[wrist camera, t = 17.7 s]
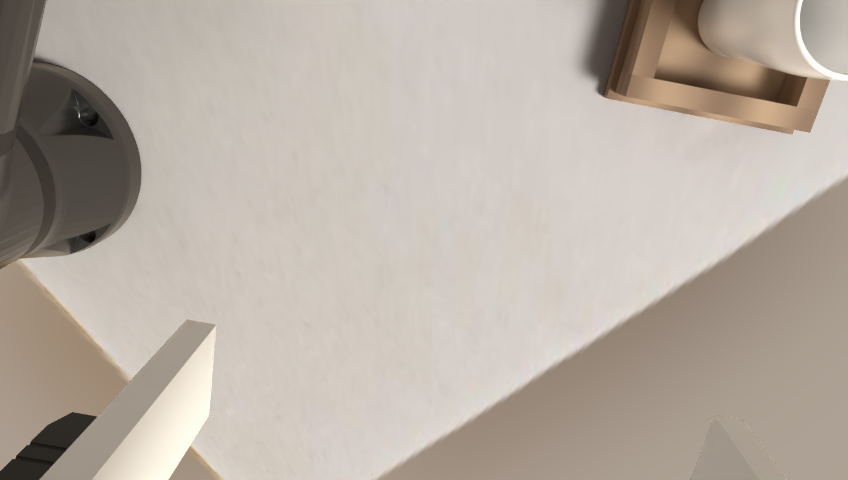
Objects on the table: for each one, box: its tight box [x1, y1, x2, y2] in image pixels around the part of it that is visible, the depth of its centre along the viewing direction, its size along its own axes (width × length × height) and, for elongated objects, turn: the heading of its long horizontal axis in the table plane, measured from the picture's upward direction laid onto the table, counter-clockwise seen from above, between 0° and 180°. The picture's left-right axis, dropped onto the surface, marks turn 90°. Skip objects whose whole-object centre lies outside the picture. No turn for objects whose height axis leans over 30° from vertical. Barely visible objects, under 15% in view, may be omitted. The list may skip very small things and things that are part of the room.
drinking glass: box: [698, 0, 848, 81], centre depth 37 cm, size 7×7×15 cm
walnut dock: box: [604, 0, 830, 134], centre depth 43 cm, size 14×14×4 cm
